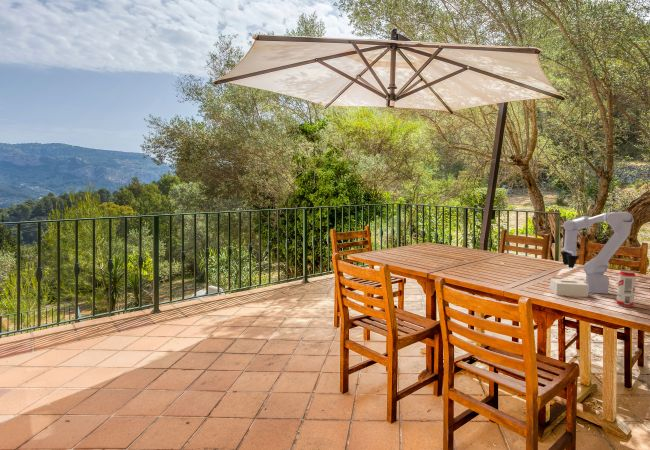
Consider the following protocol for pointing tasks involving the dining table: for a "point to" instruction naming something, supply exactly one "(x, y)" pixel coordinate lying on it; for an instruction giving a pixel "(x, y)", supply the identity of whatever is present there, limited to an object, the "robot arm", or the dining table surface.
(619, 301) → the beer can
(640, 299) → the dining table surface
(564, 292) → the box
